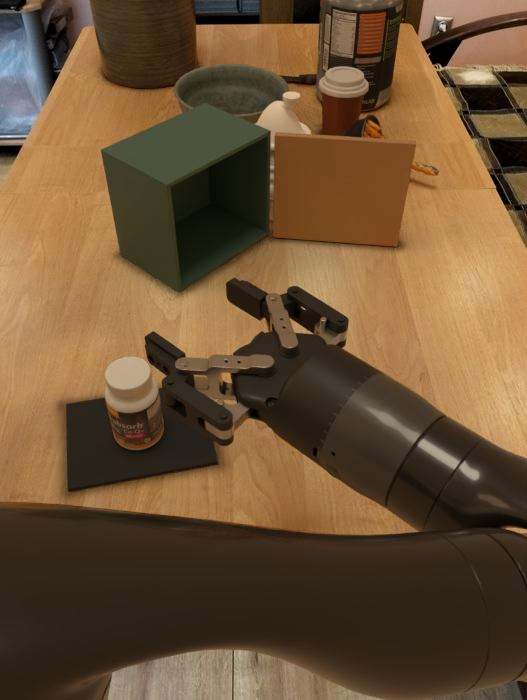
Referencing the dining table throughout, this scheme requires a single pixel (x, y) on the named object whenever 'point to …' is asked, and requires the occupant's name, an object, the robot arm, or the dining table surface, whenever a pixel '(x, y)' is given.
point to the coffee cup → (341, 99)
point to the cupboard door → (340, 188)
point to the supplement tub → (360, 43)
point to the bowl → (231, 89)
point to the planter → (145, 40)
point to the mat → (123, 464)
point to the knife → (302, 78)
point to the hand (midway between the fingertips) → (190, 314)
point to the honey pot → (281, 128)
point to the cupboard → (189, 193)
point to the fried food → (372, 129)
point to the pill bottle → (133, 403)
